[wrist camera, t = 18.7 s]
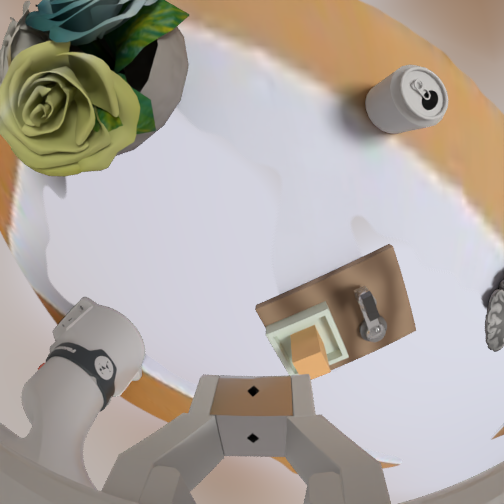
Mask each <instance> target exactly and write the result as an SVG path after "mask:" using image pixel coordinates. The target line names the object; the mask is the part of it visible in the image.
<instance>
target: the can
mask: <svg viewBox="0 0 504 504" xmlns="http://www.w3.org/2000/svg"><path fill="white" fill-rule="evenodd" d="M365 105H366V111H367V114H368V116H369V118H370V120H371V121H372V122H373V124H374V125H375V126H376V127H378V128H379V129H380V130H382V131H384V132H387V133H393V134H397V133H402V132H406V131H411V130H416V129H421V128H426V127H430V126H433V125H436V124H437V123H438V122H440V121H441V120H442V118H443V116H444V114H445V112H446V110H447V107H448V95H447V91H446V89H445V86H444V84H443V83H442V81H441V80H440V78H439V77H438V76H437V75H436V74H434V73H433V72H432V71H430V70H428V69H427V68H424V67H420V66H415V65H406V66H402V67H400V68H399V69H398V70H396V71H395V72H393V73H392V74H391V75H389V76H388V77H386V78H385V79H384V80H382V81H381V82H380V83H378V84H377V85H376V86H374V87H373V88H371V89H370V91H369V92H368V94H367V96H366V101H365Z"/></svg>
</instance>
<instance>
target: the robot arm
mask: <svg viewBox="0 0 504 504" xmlns="http://www.w3.org/2000/svg"><path fill="white" fill-rule="evenodd" d="M82 306H83V307H82ZM53 335H54V338H55V341H56V342H55V343H54V344H53V345H52V346H51V347H50V354H49V355H48V357H47V359H46V363H43V364H42V365H40V366H39V368H38V371H37V372H36V373H35V374H34V375H33V376H32V377H31V378H30V379H29V380H28V382H26V384H25V385H24V387H23V390H22V405H23V409H24V411H25V413H26V416H27V417H28V419H29V421H30V423H31V424H32V428H31V430H30V432H29V434H28V435H27V436H26V437H25V438H20V437H19V436H17V435H16V434H15V433H13V432H12V431H11V430H9V429H8V428H7V427H5V426H4V425H2V423H0V504H196V503H195V501H194V499H193V497H192V495H191V494H190V491H191V490H193V488H194V487H196V486H197V485H198V483H200V482H201V481H202V480H203V479H204V478H205V477H206V476H207V475H208V474H209V473H210V472H211V471H212V470H213V469H214V468H215V467H216V465H217V464H218V463H219V462H220V461H221V460H222V459H223V458H224V456H261V457H263V456H265V457H286V459H287V460H288V462H289V463H290V464H291V466H292V467H293V468H294V469H295V471H296V472H297V473H298V474H299V476H300V477H301V478H302V479H303V481H304V482H305V483H306V484H307V490H306V495H305V499H304V504H391V501H390V498H389V494H388V490H387V486H386V482H385V478H384V474H383V470H382V467H381V463H380V462H378V461H377V460H376V459H375V458H373V457H372V456H371V455H369V454H368V453H367V452H366V451H364V450H363V449H362V448H361V447H359V446H358V445H357V444H356V443H354V442H353V441H352V440H351V439H350V438H348V437H347V436H346V435H344V434H343V433H342V432H341V431H340V430H339V429H337V428H336V427H335V426H334V425H333V424H332V423H330V422H329V421H328V420H327V419H326V418H325V417H323V416H322V415H316V414H315V407H314V400H313V393H312V386H311V379H310V375H309V374H302V375H291V376H266V377H265V376H263V377H253V376H224V375H221V376H219V375H203V376H202V377H201V378H200V380H199V383H198V386H197V389H196V392H195V395H194V398H193V401H192V404H191V407H190V410H189V413H182V414H181V415H180V416H178V417H177V418H175V419H174V420H172V421H171V422H169V423H168V424H166V425H165V426H163V427H162V428H160V429H159V430H157V431H156V432H155V433H153V434H151V435H150V436H149V437H147V438H145V439H144V440H142V441H140V442H139V443H137V444H136V445H134V446H132V447H131V448H129V449H128V450H126V451H124V452H123V453H121V454H119V456H118V458H117V460H116V462H115V464H114V466H113V468H112V470H111V472H110V474H109V476H108V478H107V480H106V483H105V484H104V487H103V489H102V491H98V490H97V489H96V487H95V486H94V484H93V483H92V481H91V480H90V478H89V476H88V474H87V471H86V469H85V466H84V461H83V445H84V441H85V438H86V436H87V434H88V431H89V429H90V427H91V426H92V424H93V422H94V420H95V418H96V417H97V415H98V413H99V412H100V411H102V410H103V409H104V408H105V407H106V406H107V405H108V404H109V403H110V401H111V398H112V397H115V396H120V395H121V394H122V393H123V392H124V390H125V389H126V388H127V386H128V385H129V384H130V382H131V381H137V380H139V379H140V378H141V377H142V369H141V365H142V363H143V360H144V357H145V346H144V342H143V339H142V337H141V335H140V333H139V331H138V330H137V329H136V327H135V326H134V325H133V324H132V323H131V321H130V320H129V319H128V318H126V317H125V316H124V315H123V314H121V313H120V312H118V311H116V310H114V309H111V308H109V307H106V306H102V305H99V304H97V303H95V302H94V301H92V300H91V299H89V298H87V297H83V298H82V299H81V300H80V301H79V302H78V303H77V304H76V305H75V306H74V307H73V308H72V310H71V311H70V312H69V313H68V314H67V315H66V316H65V317H64V318H63V320H62V321H61V322H60V323H59V324H58V325H57V326H56V328H55V329H54V330H53ZM399 504H504V461H503V462H501V463H500V464H498V465H496V466H494V467H492V468H490V469H488V470H486V471H484V472H482V473H480V474H478V475H476V476H474V477H471V478H469V479H467V480H465V481H462V482H460V483H458V484H455V485H453V486H450V487H448V488H445V489H442V490H440V491H437V492H434V493H431V494H428V495H425V496H422V497H419V498H416V499H413V500H409V501H406V502H403V503H399Z"/></svg>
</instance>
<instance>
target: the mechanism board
mask: <svg viewBox="0 0 504 504" xmlns="http://www.w3.org/2000/svg"><path fill="white" fill-rule="evenodd" d="M364 285H365V286H366V288H368V289H369V291H370V292H371V293H372V295H373V296H374V298H375V299H376V302H377V304H376V307H377V310H378V313H379V316H380V317H379V318H378V321H379V322H380V323H381V324H382V325H383V327H384V328H385V331H386V333H385V336H384V337H383V339H381V340H380V341H378V342H371V341H369V340H368V338H367V336H366V334H365V330H366V328H367V325H366V322H365V320H364V317H363V314H362V312H361V309H360V306H359V304H358V301H357V300H356V298H355V293H354V290H356V289H358V288H360V287H362V286H364ZM324 301H326V303H327V305H328V308H329V310H330V312H331V315H332V317H333V319H334V321H335V324H336V326H337V328H338V331H339V333H340V335H341V338H342V340H343V342H344V345H345V347H346V350H347V353H348V356H349V357H348V358H346V359H344V360H341V361H339V362H336V363H334V364H332V365H329V367H330V370H332V369H335V368H337V367H340V366H342V365H344V364H347V363H349V362H351V361H354V360H356V359H358V358H361V357H363V356H365V355H367V354H370V353H372V352H374V351H376V350H378V349H380V348H382V347H384V346H386V345H389V344H390V343H393V342H395V341H397V340H398V339H400V338H402V337H404V336H406V335H408V334H410V333H412V332H414V331H416V328H415V323H414V319H413V315H412V311H411V307H410V303H409V299H408V295H407V291H406V288H405V284H404V281H403V277H402V274H401V271H400V267H399V264H398V261H397V258H396V255H395V252H394V248H393V246H392V245H390V244H388V245H386V246H384V247H382V248H380V249H378V250H376V251H374V252H372V253H370V254H368V255H365V256H363V257H361V258H359V259H357V260H355V261H353V262H351V263H349V264H347V265H345V266H342V267H340V268H338V269H336V270H334V271H332V272H330V273H327V274H325V275H323V276H321V277H319V278H317V279H314V280H312V281H310V282H308V283H305V284H303V285H301V286H299V287H297V288H294V289H292V290H290V291H287V292H285V293H283V294H281V295H278V296H276V297H274V298H271V299H269V300H267V301H265V302H262V303H260V304H257V305H256V309H255V310H256V312H257V313H258V315H259V317H260V319H261V320H262V322H263V324H264V326H265V327H266V326H268V325H270V324H273V323H275V322H277V321H280V320H282V319H285V318H287V317H289V316H292V315H294V314H297V313H299V312H301V311H304V310H306V309H308V308H310V307H313V306H315V305H317V304H320V303H322V302H324Z"/></svg>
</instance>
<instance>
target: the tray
mask: <svg viewBox="0 0 504 504" xmlns="http://www.w3.org/2000/svg"><path fill="white" fill-rule="evenodd" d="M313 325H315V326H316V328H317V331H318V333H319V335H320V337H321V339H322V341H323V343H324V346H325V350H326V354H327V358H328V363H329V365H332V364H334V363H336V362H339V361H341V360H344V359H346V358H348V357H349V356H348V353H347V350H346V347H345V345H344V342H343V340H342V338H341V335H340V333H339V331H338V328H337V326H336V324H335V321H334V319H333V317H332V315H331V312H330V310H329V308H328V305H327V303H326V301H324V302H322V303H320V304H317V305H315V306H313V307H310V308H308V309H306V310H304V311H301V312H299V313H297V314H294V315H292V316H289V317H287V318H285V319H282V320H280V321H277V322H275V323H273V324H270V325H268V326H266V336H267V338H268V340H269V341H270V343H271V345H272V347H273V348H274V350H275V352H276V353H277V355H278V357H279V358H280V360H281V362H282V364H283V365H284V367H285V369H286V370H287V372H288V374H289V375H290V376H291V375H299V374H298V372H297V370H296V368H295V367H294V365H293V363H292V351H291V338H290V335H291V334H294V333H296V332H298V331H301V330H303V329H306V328H308V327H310V326H313Z"/></svg>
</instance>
